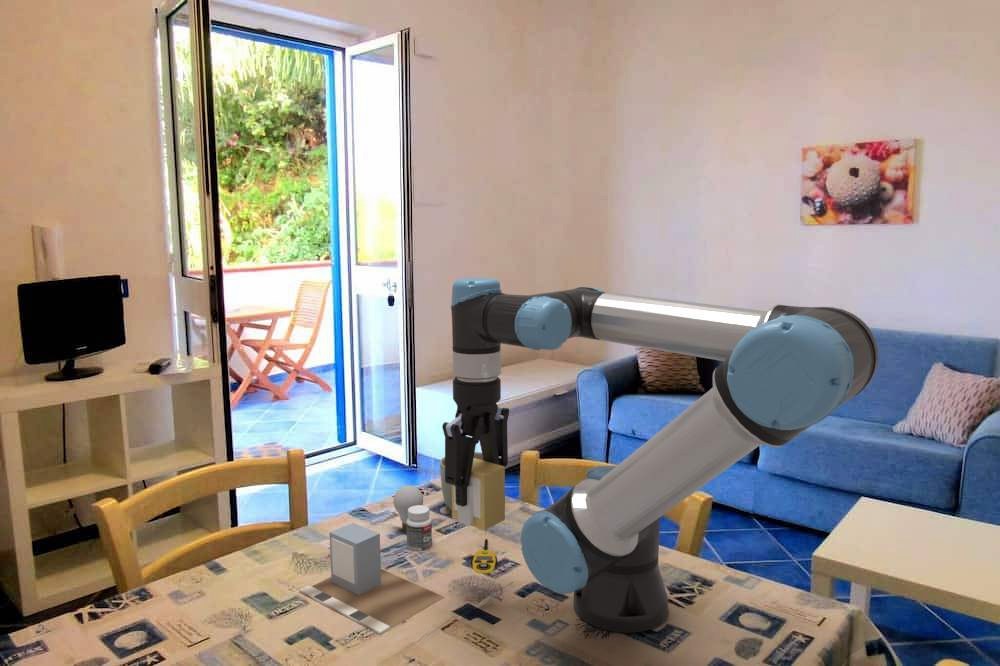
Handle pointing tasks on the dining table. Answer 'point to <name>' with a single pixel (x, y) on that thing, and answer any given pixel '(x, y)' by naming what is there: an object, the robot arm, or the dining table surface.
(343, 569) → the slate box
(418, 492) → the light bulb
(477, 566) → the yellow walkie talkie
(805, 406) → the robot arm
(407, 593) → the shelf board
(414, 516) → the pill bottle
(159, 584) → the dining table surface
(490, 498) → the tea box
